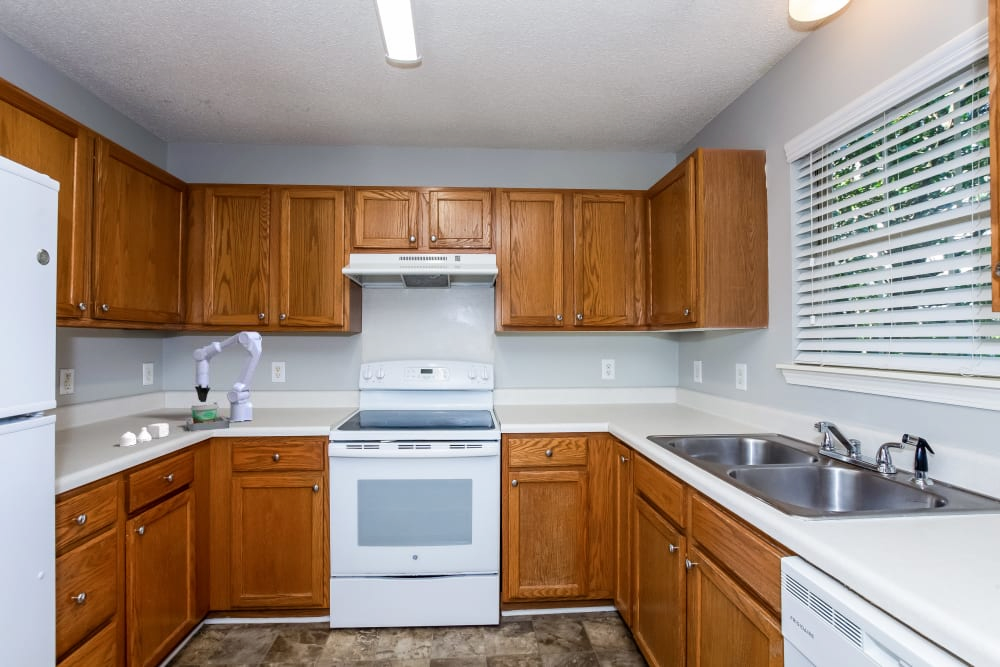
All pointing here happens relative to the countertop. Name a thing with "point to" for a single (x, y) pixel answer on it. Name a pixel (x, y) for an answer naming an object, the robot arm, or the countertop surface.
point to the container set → (145, 434)
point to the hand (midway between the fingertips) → (202, 401)
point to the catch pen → (208, 425)
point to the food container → (204, 413)
